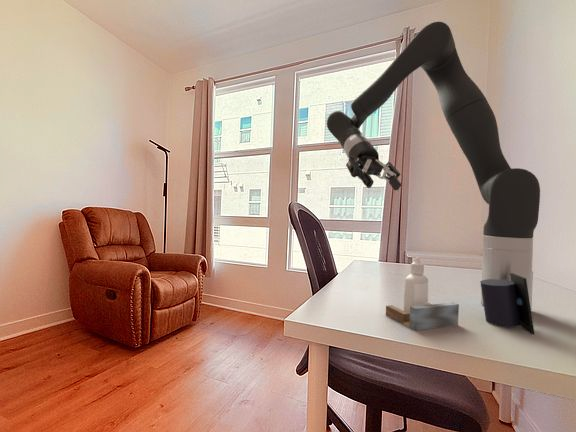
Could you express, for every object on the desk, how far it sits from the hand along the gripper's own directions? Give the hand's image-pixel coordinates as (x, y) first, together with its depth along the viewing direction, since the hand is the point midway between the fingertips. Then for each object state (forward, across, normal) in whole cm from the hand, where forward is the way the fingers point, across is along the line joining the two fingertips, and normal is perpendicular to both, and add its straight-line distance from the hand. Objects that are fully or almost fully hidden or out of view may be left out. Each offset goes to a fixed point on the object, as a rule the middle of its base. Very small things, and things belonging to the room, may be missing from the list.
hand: (385, 186), depth 66 cm
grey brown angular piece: (+30, -1, +11) cm, 32 cm away
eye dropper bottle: (+28, -1, +12) cm, 31 cm away
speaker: (+34, +14, +6) cm, 38 cm away
